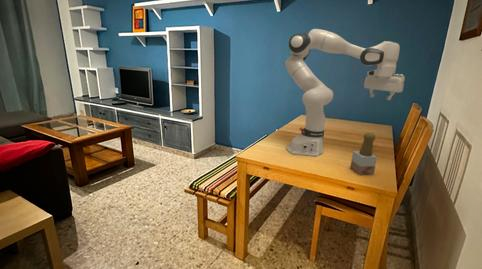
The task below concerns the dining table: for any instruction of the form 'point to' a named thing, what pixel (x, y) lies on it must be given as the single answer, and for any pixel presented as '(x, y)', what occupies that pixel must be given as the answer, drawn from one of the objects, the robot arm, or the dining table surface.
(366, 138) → the cork
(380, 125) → the dining table surface
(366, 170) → the walnut block
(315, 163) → the dining table surface
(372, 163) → the grey block
